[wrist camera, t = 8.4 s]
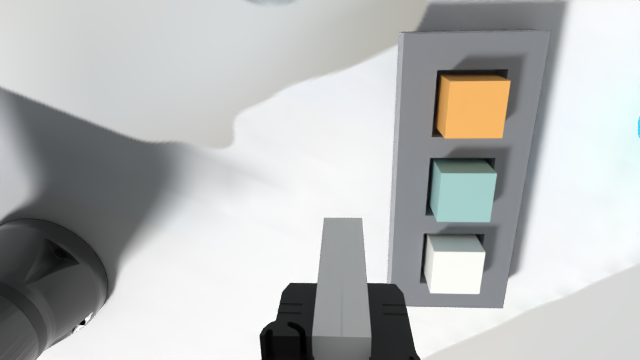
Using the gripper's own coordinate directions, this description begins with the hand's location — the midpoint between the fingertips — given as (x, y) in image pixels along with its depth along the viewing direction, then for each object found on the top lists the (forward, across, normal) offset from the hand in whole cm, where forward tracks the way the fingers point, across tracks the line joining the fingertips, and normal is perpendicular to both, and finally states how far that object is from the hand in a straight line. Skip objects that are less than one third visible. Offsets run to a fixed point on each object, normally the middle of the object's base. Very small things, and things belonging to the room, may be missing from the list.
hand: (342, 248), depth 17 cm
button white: (+24, +11, -15) cm, 31 cm away
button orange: (+24, +11, +1) cm, 27 cm away
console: (+26, +11, -7) cm, 29 cm away
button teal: (+24, +11, -7) cm, 28 cm away
